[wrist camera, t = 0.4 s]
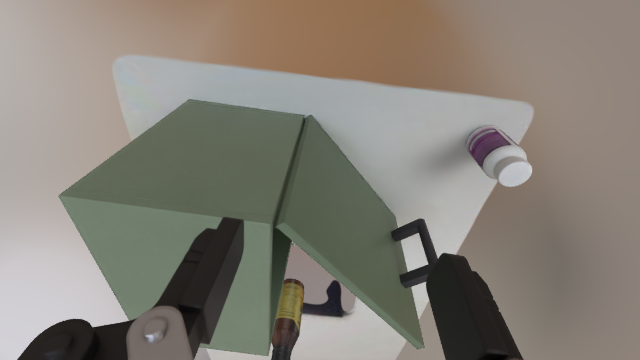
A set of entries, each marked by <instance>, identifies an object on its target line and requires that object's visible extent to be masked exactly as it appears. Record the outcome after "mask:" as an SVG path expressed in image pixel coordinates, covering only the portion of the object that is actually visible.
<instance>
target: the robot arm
mask: <svg viewBox="0 0 640 360" xmlns="http://www.w3.org/2000/svg"><path fill="white" fill-rule="evenodd" d="M243 250H244V220H243V219H237V218H230V217H223V218H222V220H221V222H220V223H219V225H218V227H217V229H211V228H206V229H205V230H204V231H203V232H201V233H200V234H199V235H198V236H196V238H195V239H194V241H193V243H192V244H191V246H190V248H189V251H187V253H186V254H185V256H184V258H183V261H181V263H180V265H179V266H178V268H177V270H176V271H175V273H174V275H173V277H172V278H171V280H170V282H169V283H168V285H167V287H166V288H165V290H164V292H163V294H162V295H161V297H160V299H159V300H158V302H157V303H156V304H155V305H154V306H153V307H152V308H151V309H149V310H147V311H146V312H144V313H143V314H141V315H140V316H139V317H138V318H135V319H133V320H130V321H126V322H121V323H116V324H110V325H104V326H99V327H92V326H91V325H90V323H88V322H87V321H85V320H82V319H70V320H66V321H62V322H59V323H57V324H55V325H53V326H51V327H49V328H48V329H46V330H45V331H43V332H42V333H41V334H39V335H38V336H37V337H36V338H35V339H34V340H33V341H32V342H31V343H30V344H29V346H28V347H27V348H26V350H25V351H24V352H23V353H22V354H21V356H20V357H19V358H18V359H17V360H194V358H195V356H196V353H197V351H198V348H199V346H200V343H201V344H208V345H210V342H211V339H212V337H213V334H214V331H215V329H216V326H217V323H218V321H219V318H220V315H221V313H222V310H223V307H224V305H225V302H226V299H227V297H228V294H229V291H230V288H231V286H232V283H233V280H234V278H235V275H236V272H237V270H238V267H239V264H240V262H241V259H242V255H243ZM426 289H427V293H428V297H429V300H430V303H431V308H432V311H433V315H434V319H435V322H436V326H437V330H438V333H439V336H440V340H441V344H442V348H443V351H444V355H445V359H446V360H523V358H522V356H521V354H520V352H519V350H518V348H517V346H516V344H515V342H514V340H513V338H512V335H511V334H510V331H509V329H508V327H507V325H506V323H505V321H504V319H503V317H502V315H501V313H500V312H499V311H498V310H499V308H498V306H497V304H496V302H495V301H494V300H493V296H492V294H491V292H490V290H489V288H488V286H487V284H486V283H485V282H484V280H483V279H482V278H481V277H480V276H479V275H478V273H477V272H474V271H472V270H471V268H470V266H469V264H468V261H467V259H466V258H465V257H464V256H459V255H454V254H448V253H443V254H441V256H440V257H439V259H438V260H437V262H436V263H435V265H434V266H433V268H432V270H431V271H430V273H429V274H428V276H427V280H426Z"/></svg>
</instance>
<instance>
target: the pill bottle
mask: <svg viewBox="0 0 640 360" xmlns="http://www.w3.org/2000/svg"><path fill="white" fill-rule="evenodd" d="M467 149H468V151H469V153H470V154H471V155H472V157H473V158H474V159H475V161H476V162H477V163H478V165H479V166H480V167H481V169H482V170H483V171H484V172H485V174H486V175H487V176H489V177H490V178H493V179H497V180H498V182H499V183H501V184H502V185H503V186H507V187H513V186H517V185H520V184H522V183H524V182H525V181H526V180H527V179H528V178H529V177H530V175H531V174H532V167H531V165H530V164H529V163H528V162H527V156H526V153H525V152H524V150H523V149H522V148H521V147H520V146H518V145H517V144H516V143H515V142H514V141H513V140H512V139H511V138H510V137H508V136H507V135H506V134H505V133H504V132H503V131H501V130H500V129H499V128H497V127H495V126H484V127H481V128H479V129H477V130H475V131H474V132H473V133H472V134H471V135H470V136H469V138H468V140H467Z"/></svg>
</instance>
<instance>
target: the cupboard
mask: <svg viewBox="0 0 640 360" xmlns="http://www.w3.org/2000/svg"><path fill="white" fill-rule="evenodd" d="M303 121H304V115H298V114H291V113H283V112H276V111H269V110H262V109H255V108H248V107H241V106H233V105H226V104H219V103H212V102H205V101H198V100H191V99H189V100H187V101H186V102H185V103H184V104H182V105H181V106H179V107H178V108H177V109H175V110H174V111H173V112H171V113H170V114H169V115H167V116H166V117H165V118H163V119H162V120H160V121H159V122H158V123H156V124H155V125H154V126H152V127H151V128H150V129H148V130H147V131H145V132H144V133H143V134H141V135H140V136H139V137H137V138H136V139H135V140H133V141H132V142H130V143H129V144H128V145H127V146H125V147H124V148H122V149H121V150H120V151H118V152H117V153H116V154H114V155H113V156H111V157H110V158H109V159H107V160H106V161H105V162H103V163H102V164H101V165H99V166H98V167H96V168H95V169H94V170H93V171H91V172H90V173H88V174H87V175H86V176H84V177H83V178H81V179H80V180H79V181H77V182H76V183H75V184H74V185H72V186H71V187H69V188H68V189H66V190H65V191H64V192H62V193H61V194H60V195H59V198H60V199H61V201H62V203H63V205H64V207H65V208H66V210H67V212H68V214H69V215H70V217H71V219H72V221H73V222H74V224H75V226H76V228H77V230H78V231H79V233H80V235H81V237H82V238H83V240H84V242H85V244H86V245H87V247H88V249H89V250H90V252H91V254H92V256H93V258H94V259H95V261H96V263H97V265H98V266H99V268H100V270H101V272H102V273H103V275H104V277H105V279H106V280H107V282H108V284H109V286H110V287H111V289H112V291H113V293H114V295H115V296H116V298H117V300H118V301H119V303H120V305H121V307H122V309H123V310H124V312H125V314H126V315H127V317H128V319H129V321H130V320H133V319H135V318H138V317H139V316H140V315H141V314H143V313H144V312H146V311H147V310H149V309H151V308H152V307H153V306H154V305H155V304H156V303H157V302H158V300H159V299H160V297H161V295H162V294H163V292H164V290H165V288H166V287H167V285H168V283H169V282H170V280H171V278H172V277H173V275H174V273H175V271H176V270H177V268H178V266H179V265H180V263H181V261H183V258H184V256H185V254H186V253H187V251H189V248H190V246H191V244H192V243H193V241H194V239H195V238H196V236H198V235H199V234H200V233H201V232H203V231H204V230H205V229H206V228H211V229H217V227H218V225H219V223H220V222H221V220H222V218H223V217H230V218H237V219H243V220H244V250H243V255H242V259H241V262H240V264H239V267H238V270H237V272H236V275H235V278H234V280H233V283H232V286H231V288H230V291H229V294H228V297H227V299H226V302H225V305H224V307H223V310H222V313H221V315H220V318H219V321H218V323H217V326H216V329H215V331H214V334H213V337H212V339H211V342H210V345H208V344H201V343H200V346H199V347H201V348H209V349H216V350H224V351H232V352H240V353H247V354H255V355H263V356H269V351H270V346H271V341H272V336H273V331H274V326H275V321H276V316H277V311H278V306H279V301H280V296H281V291H282V286H283V281H284V276H285V271H286V267H287V262H288V257H289V252H290V247H291V242H292V240H291V239H290V238H289V237H287V236H286V235H285V234H284V233H283V232H282V231H280V230H279V229H278V228H277V227H276V225H277V221H278V218H279V214H280V210H281V207H282V203H283V200H284V196H285V193H286V189H287V185H288V182H289V178H290V175H291V171H292V168H293V164H294V160H295V157H296V153H297V150H298V146H299V143H300V139H301V135H302V132H303Z"/></svg>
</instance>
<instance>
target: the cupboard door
mask: <svg viewBox="0 0 640 360" xmlns="http://www.w3.org/2000/svg"><path fill="white" fill-rule="evenodd" d="M276 227H277V228H278V229H279V230H280V231H282V232H283V233H284V234H285V235H286V236H287V237H289V238H290V239H291V240H292V241H293V242H294V243H295V244H297V245H298V246H299V247H300V248H301V249H302V250H304V251H305V252H306V253H307V254H308V255H309V256H311V257H312V258H313V259H314V260H315V261H316V262H317V263H319V264H320V265H321V266H322V267H323V268H324V269H325V270H327V271H328V272H329V273H330V274H331V275H332V276H334V277H335V278H336V279H337V280H338V281H339V282H340V283H342V284H343V285H344V286H345V287H346V288H347V289H349V290H350V291H351V292H352V293H353V294H354V295H355V296H357V297H358V298H359V299H360V300H361V301H362V302H363V303H365V304H366V305H367V306H368V307H369V308H370V309H372V310H373V311H374V312H375V313H376V314H377V315H378V316H380V317H381V318H382V319H383V320H384V321H385V322H387V323H388V324H389V325H390V326H391V327H392V328H393V329H395V330H396V331H397V332H398V333H399V334H400V335H402V336H403V337H404V338H405V339H406V340H407V341H409V342H410V343H411V344H412V345H413V346H414V347H416V348H417V349H421V348H424V342H423V338H422V334H421V329H420V325H419V320H418V316H417V311H416V307H415V302H414V298H413V293H412V289H411V287H412V286H415V285H417V284H420V283H423V282H426V280H427V276H428V274H429V273H430V271H431V270H432V268H433V266H434V265H435V263H436V262H437V260H438V258H437V255H436V252H435V249H434V246H433V243H432V241H431V238H430V235H429V232H428V229H427V226H426V223H425V220H424V219H417V220H415V221H413V222H411V223H408V224H406V225H404V226H402V227H399V228H398V227H397V222H396V218H395V216H394V215H393V213H392V212H391V211H390V210H389V209H388V207H387V206H386V205H385V204H384V202H383V201H382V200H381V199H380V198H379V196H378V195H377V194H376V193H375V192H374V190H373V189H372V188H371V187H370V185H369V184H368V183H367V182H366V181H365V179H364V178H363V177H362V176H361V175H360V173H359V172H358V171H357V170H356V168H355V167H354V166H353V165H352V164H351V162H350V161H349V160H348V159H347V158H346V156H345V155H344V154H343V153H342V151H341V150H340V149H339V148H338V147H337V145H336V144H335V143H334V142H333V141H332V139H331V138H330V137H329V136H328V134H327V133H326V132H325V131H324V130H323V128H322V127H321V126H320V125H319V124H318V122H317V121H316V120H315V119H314V117H313V116H312V115H310V116H309V117H307V118H306V121H305V125H304V128H303V132H302V135H301V139H300V143H299V146H298V150H297V153H296V157H295V160H294V164H293V168H292V171H291V175H290V178H289V182H288V185H287V189H286V193H285V196H284V200H283V203H282V207H281V210H280V214H279V218H278V221H277V225H276ZM416 233H419V235H420V238H421V241H422V245H423V248H424V251H425V254H426V258H427V261H428V265H426V266H423V267H420V268H418V269H415V270H412V271H409V272H408V271H407V267H406V262H405V258H404V253H403V249H402V245H401V240H402V239H405V238H407V237H409V236H412V235H414V234H416Z"/></svg>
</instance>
